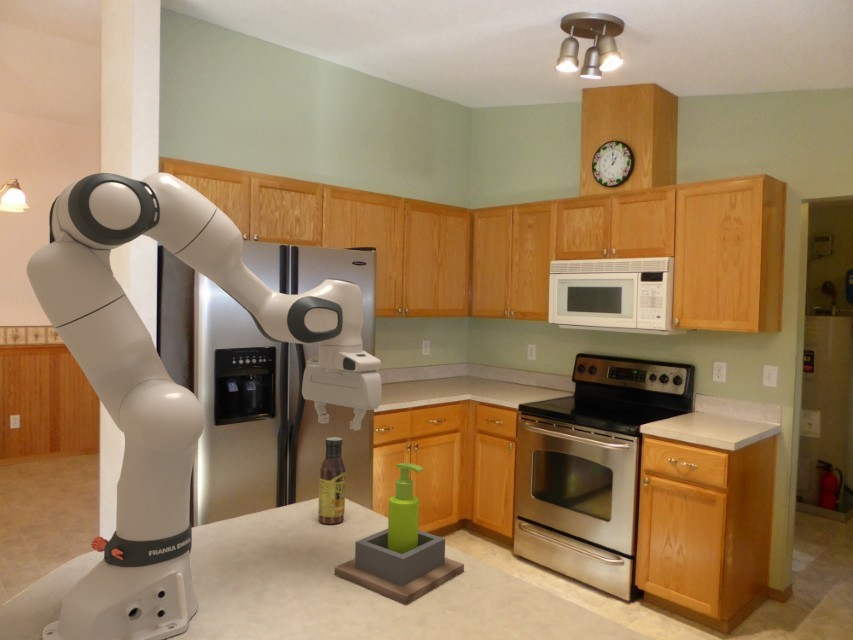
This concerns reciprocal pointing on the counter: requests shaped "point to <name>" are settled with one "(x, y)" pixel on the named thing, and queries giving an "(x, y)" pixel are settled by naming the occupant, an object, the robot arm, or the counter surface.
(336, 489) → the sauce bottle
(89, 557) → the counter surface
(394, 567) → the collar board
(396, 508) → the soap dispenser
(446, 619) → the counter surface
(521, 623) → the counter surface
